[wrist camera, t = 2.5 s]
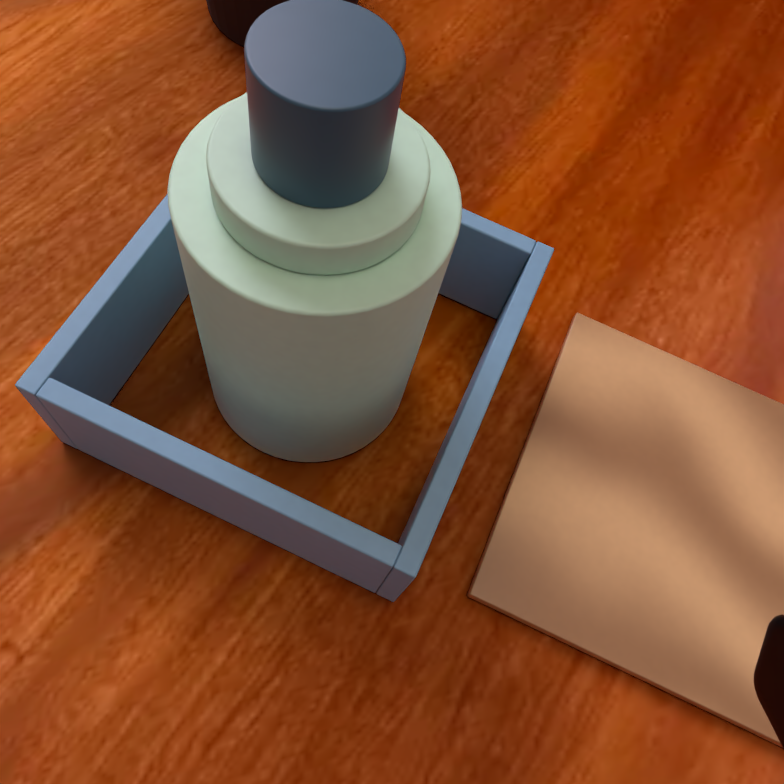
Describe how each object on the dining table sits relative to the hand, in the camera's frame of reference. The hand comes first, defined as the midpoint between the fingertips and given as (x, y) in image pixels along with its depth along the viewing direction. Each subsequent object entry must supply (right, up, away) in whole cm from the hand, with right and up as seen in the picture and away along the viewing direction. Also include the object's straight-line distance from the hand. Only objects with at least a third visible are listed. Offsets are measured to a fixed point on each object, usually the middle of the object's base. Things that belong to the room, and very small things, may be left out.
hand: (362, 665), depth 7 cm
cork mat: (+10, -1, +16) cm, 19 cm away
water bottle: (-2, +3, +16) cm, 17 cm away
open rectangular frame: (-2, +3, +16) cm, 17 cm away
